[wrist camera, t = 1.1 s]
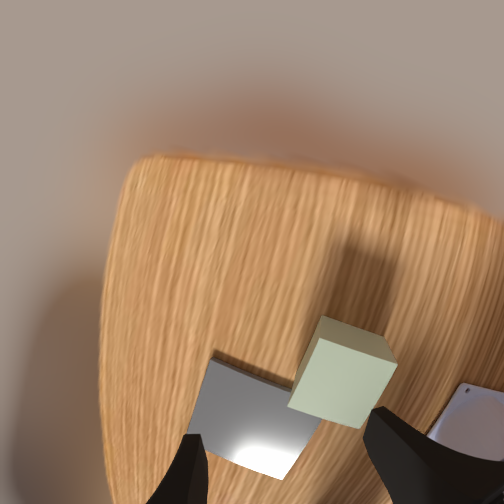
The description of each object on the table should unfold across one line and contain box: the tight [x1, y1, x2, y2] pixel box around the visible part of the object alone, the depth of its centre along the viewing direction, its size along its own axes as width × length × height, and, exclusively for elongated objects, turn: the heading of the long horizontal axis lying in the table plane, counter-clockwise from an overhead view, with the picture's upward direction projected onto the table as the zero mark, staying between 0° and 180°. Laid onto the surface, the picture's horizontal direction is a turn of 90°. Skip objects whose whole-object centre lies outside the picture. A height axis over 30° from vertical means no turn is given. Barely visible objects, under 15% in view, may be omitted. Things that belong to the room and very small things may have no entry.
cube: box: [287, 315, 398, 429], centre depth 18 cm, size 5×5×5 cm
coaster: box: [187, 357, 322, 480], centre depth 22 cm, size 10×10×1 cm
